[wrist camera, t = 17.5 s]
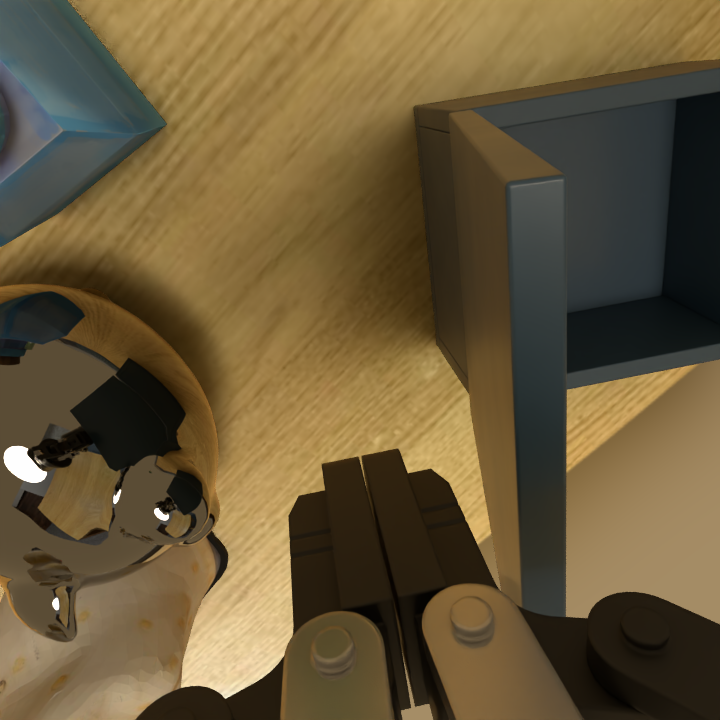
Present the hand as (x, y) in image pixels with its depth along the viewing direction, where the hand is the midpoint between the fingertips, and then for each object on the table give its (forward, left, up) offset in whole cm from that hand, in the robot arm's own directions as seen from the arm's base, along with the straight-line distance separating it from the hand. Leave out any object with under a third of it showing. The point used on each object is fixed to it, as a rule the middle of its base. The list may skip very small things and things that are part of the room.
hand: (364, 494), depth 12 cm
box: (-12, 0, -18) cm, 22 cm away
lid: (-5, 0, -5) cm, 7 cm away
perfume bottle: (+9, -8, -19) cm, 22 cm away
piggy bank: (+11, +4, -19) cm, 22 cm away
